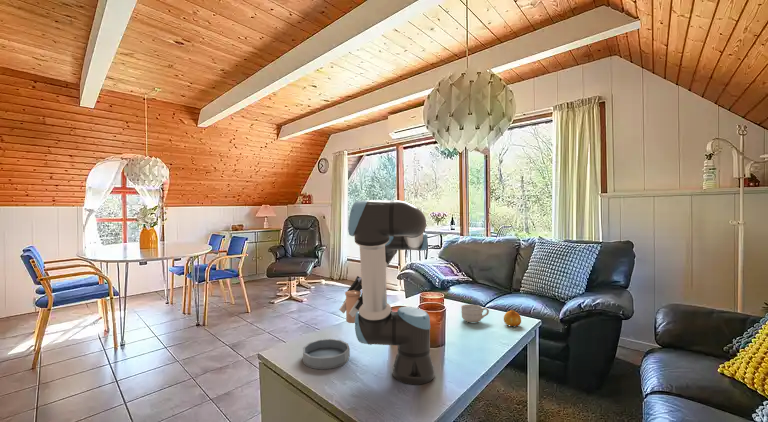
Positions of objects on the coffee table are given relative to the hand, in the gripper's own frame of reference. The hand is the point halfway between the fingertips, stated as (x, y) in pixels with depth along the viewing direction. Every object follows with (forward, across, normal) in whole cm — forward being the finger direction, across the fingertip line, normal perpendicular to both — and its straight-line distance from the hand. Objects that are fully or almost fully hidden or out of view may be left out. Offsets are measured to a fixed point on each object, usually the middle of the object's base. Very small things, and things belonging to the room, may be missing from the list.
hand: (346, 313), depth 144 cm
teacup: (-38, -15, -63) cm, 75 cm away
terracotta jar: (0, 0, -5) cm, 5 cm away
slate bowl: (+18, 0, -4) cm, 19 cm away
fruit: (-45, -30, -70) cm, 88 cm away
